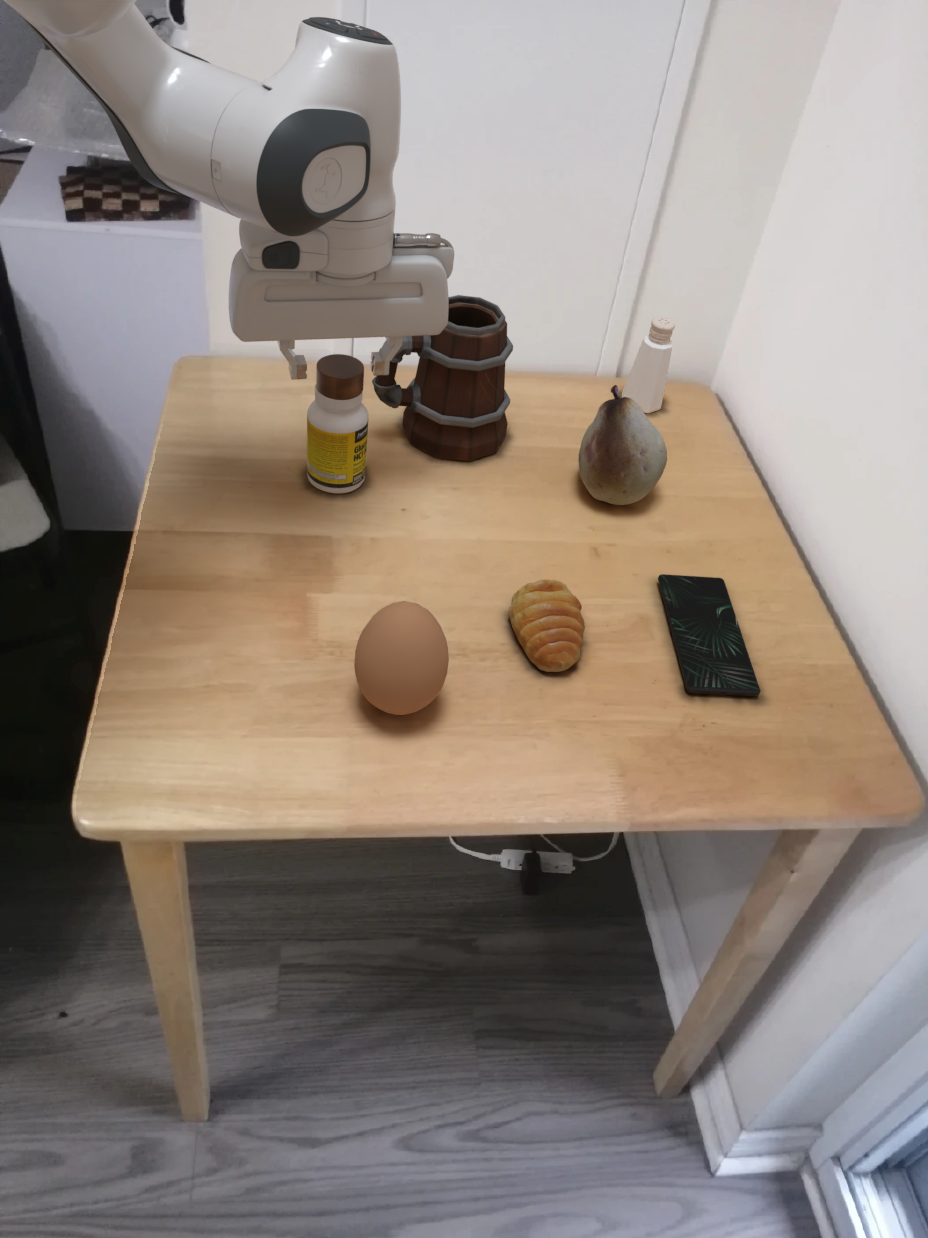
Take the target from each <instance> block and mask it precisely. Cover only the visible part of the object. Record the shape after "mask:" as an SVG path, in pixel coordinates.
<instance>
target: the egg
mask: <svg viewBox="0 0 928 1238" xmlns="http://www.w3.org/2000/svg"><path fill="white" fill-rule="evenodd" d="M449 657H450V655H449V646H448V642H447V638H446V635H445V633H444V631H443V628H442V627H441V625H440V622H439V621H438V619H437V618H436V617H435V616H434V615H433V613H431V611H429V609H427V608H426V607H424V606H422V605H421V604H419V603H417V602H412V601H406V600H402V601H396V602H395V601H394V602H392V603H389V604H387V605H385V606H384V607H382V608H380V609H379V610H378V611H377V612H376V613H374V614H373V616H371V618H370V619H369V620H368V622H367V623H366V625H365V626H364V628H363V629H362V631H361V632H360V635H359V636H358V640H357V643H356V647H355V652H354V664H353V665H354V674H355V678H356V679H355V680H356V683H357V685H358V687H359V689H360V692H361V693H362V695H364V697H365V699H366V700H367V701H368V702H369V703H370V704H371V705H372V706H374V707H375V708H377V709H378V710H380V711H382V712H385V713H386V714H390V715H395V716H399V715H400V716H401V715H411V714H414V713H416V712H417V713H418V712H419V711H421V710H422V709H424V708H426V707H427V706H428V705H429V704H430V703H432V702H433V701H434V700H435V698H436V697H437V696H438V695H439V694H440V692H441V690H442V689H443V687H444V685H445V681H446V678H447V675H448V670H449V669H448V668H449V663H450V660H449V659H450V658H449Z"/></svg>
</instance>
